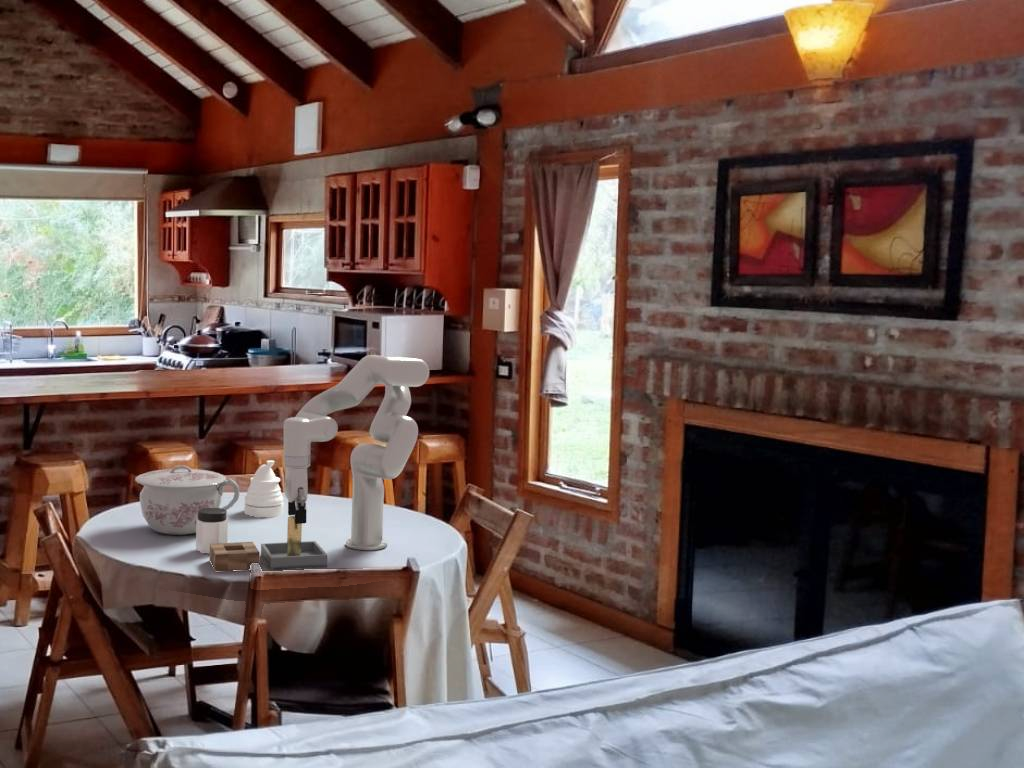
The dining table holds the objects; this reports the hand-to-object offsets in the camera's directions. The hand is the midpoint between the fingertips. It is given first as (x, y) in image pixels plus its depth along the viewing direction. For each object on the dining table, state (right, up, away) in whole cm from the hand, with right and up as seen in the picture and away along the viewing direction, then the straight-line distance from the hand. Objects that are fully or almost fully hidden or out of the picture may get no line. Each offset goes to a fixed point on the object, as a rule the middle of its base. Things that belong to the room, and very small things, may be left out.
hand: (297, 519), depth 332 cm
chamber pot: (-42, -7, +29) cm, 52 cm away
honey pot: (-22, -5, +58) cm, 62 cm away
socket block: (-17, -12, -7) cm, 22 cm away
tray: (-1, -12, +1) cm, 12 cm away
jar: (-27, -10, +8) cm, 30 cm away
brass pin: (-1, -11, +1) cm, 11 cm away
